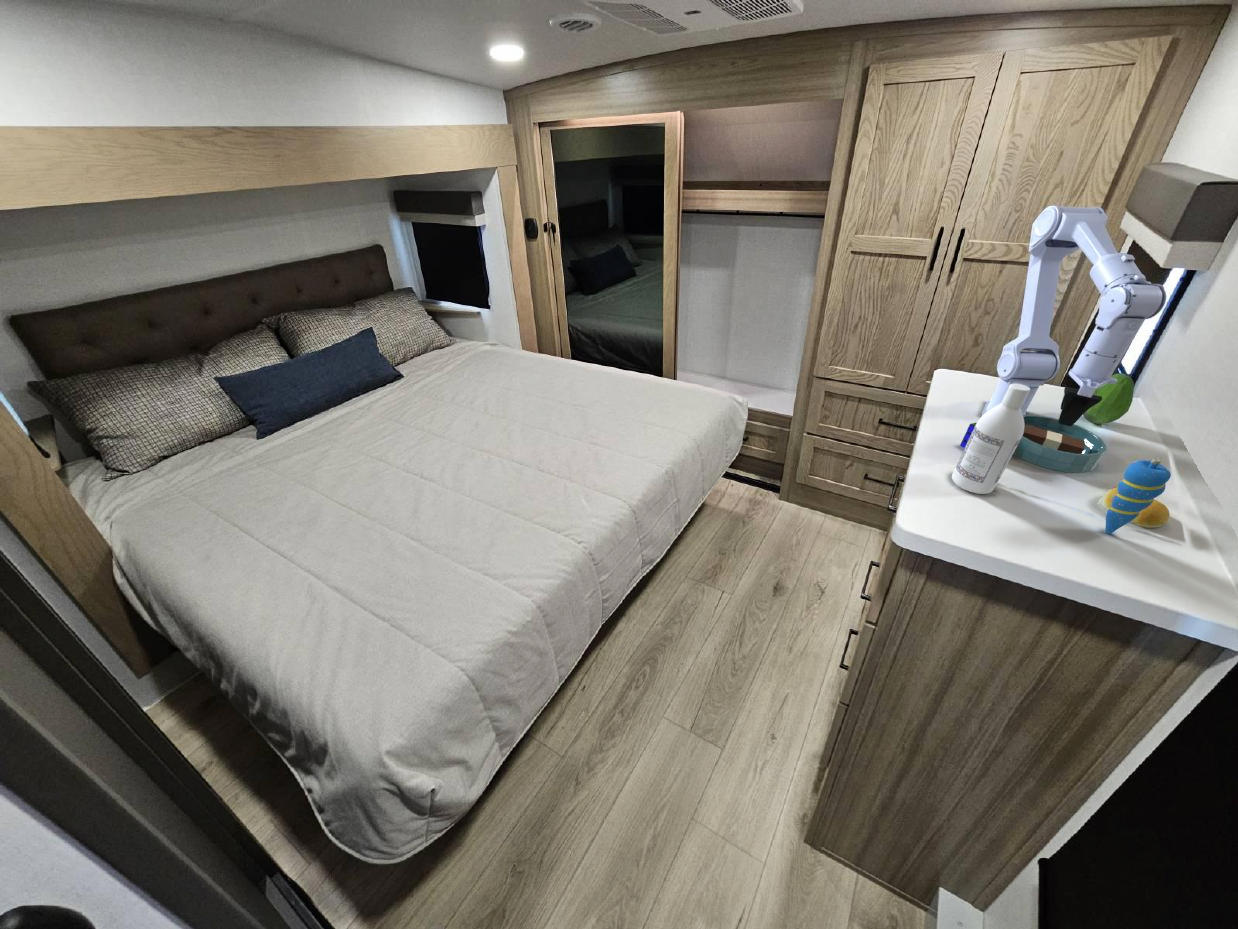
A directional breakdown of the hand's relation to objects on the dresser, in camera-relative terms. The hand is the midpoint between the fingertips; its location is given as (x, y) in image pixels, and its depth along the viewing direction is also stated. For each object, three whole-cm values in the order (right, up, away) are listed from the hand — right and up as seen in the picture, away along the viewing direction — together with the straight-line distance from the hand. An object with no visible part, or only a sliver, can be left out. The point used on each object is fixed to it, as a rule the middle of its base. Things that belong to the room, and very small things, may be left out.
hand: (1065, 417), depth 102 cm
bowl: (0, -7, +5) cm, 8 cm away
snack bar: (0, -6, +4) cm, 8 cm away
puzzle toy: (-14, -7, +5) cm, 16 cm away
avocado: (+21, 0, +17) cm, 27 cm away
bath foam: (-22, -13, -5) cm, 26 cm away
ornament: (-7, -21, -16) cm, 27 cm away
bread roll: (+1, -18, -12) cm, 22 cm away
